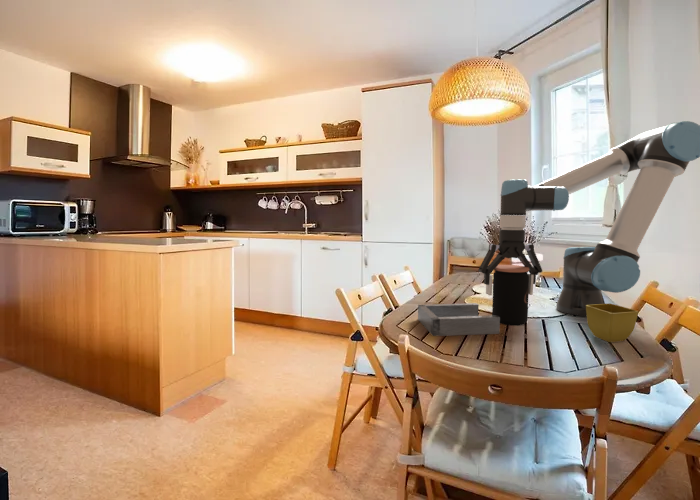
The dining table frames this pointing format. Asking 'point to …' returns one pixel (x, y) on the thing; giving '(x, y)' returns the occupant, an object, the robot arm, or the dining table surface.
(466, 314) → the channel
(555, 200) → the robot arm
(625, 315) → the flower pot
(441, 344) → the dining table surface
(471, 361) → the dining table surface
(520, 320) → the coffee jar
